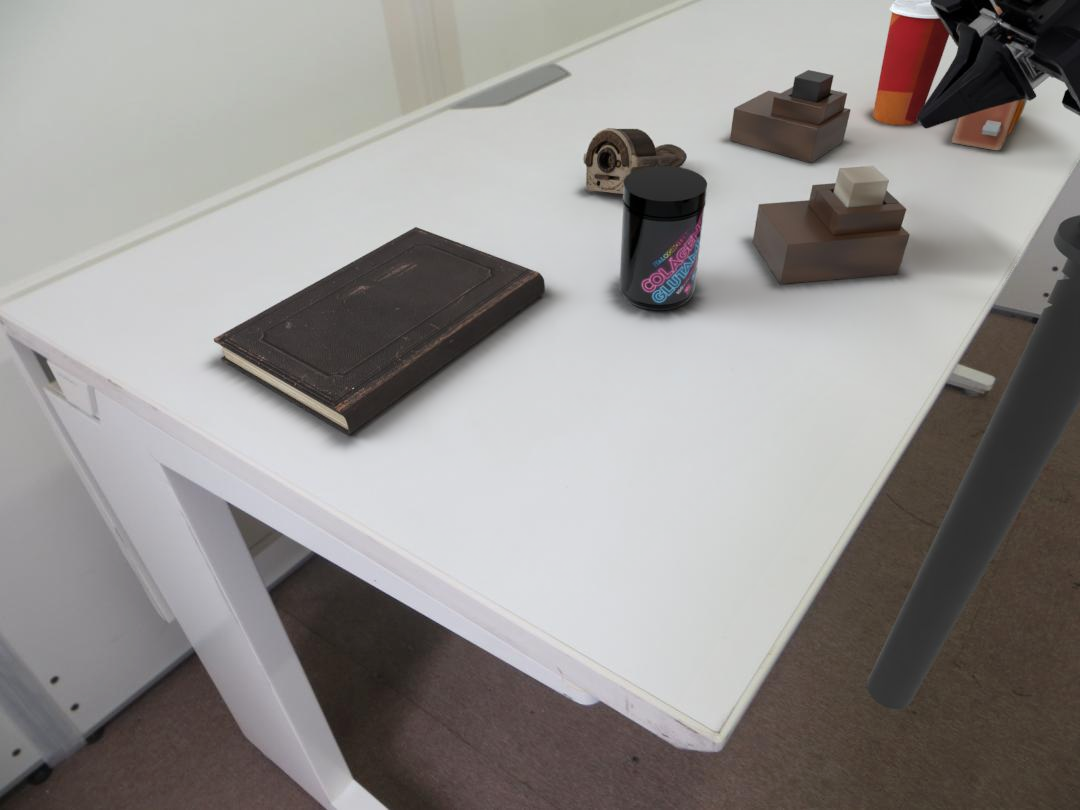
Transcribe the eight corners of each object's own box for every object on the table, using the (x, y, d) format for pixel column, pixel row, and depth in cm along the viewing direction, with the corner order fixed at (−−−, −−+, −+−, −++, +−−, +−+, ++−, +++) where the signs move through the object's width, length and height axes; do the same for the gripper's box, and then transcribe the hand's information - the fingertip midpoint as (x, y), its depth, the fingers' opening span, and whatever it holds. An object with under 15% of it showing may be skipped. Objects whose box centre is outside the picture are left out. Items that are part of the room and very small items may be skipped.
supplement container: (622, 315, 65) (627, 203, 59) (615, 275, 71) (619, 167, 64) (700, 312, 65) (715, 199, 59) (687, 272, 71) (699, 164, 64)
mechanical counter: (561, 129, 84) (599, 140, 76) (662, 99, 87) (710, 106, 78) (573, 193, 88) (611, 210, 79) (669, 162, 90) (716, 175, 82)
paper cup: (915, 106, 101) (949, -12, 91) (937, 127, 95) (974, 4, 86) (855, 107, 101) (883, -10, 92) (873, 129, 95) (904, 6, 86)
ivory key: (866, 192, 70) (873, 165, 68) (881, 207, 67) (889, 180, 65) (832, 194, 69) (838, 167, 68) (846, 210, 67) (853, 182, 65)
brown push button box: (860, 233, 75) (876, 175, 71) (898, 274, 69) (917, 213, 65) (752, 241, 74) (761, 183, 71) (780, 284, 68) (792, 223, 64)
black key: (829, 97, 88) (834, 75, 87) (815, 105, 87) (820, 82, 85) (804, 92, 90) (808, 69, 88) (790, 99, 88) (794, 76, 87)
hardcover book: (221, 361, 62) (213, 338, 61) (418, 247, 76) (415, 226, 74) (352, 438, 55) (345, 414, 53) (545, 296, 68) (544, 274, 67)
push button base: (843, 142, 92) (854, 91, 88) (811, 163, 88) (821, 111, 84) (763, 121, 98) (771, 73, 94) (729, 140, 94) (736, 90, 90)
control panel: (1023, 115, 97) (1004, 156, 88) (964, 106, 100) (940, 145, 91) (1098, -82, 83) (1085, -58, 74) (1027, -85, 86) (1005, -62, 77)
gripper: (991, -132, 61) (827, 25, 67) (1159, -100, 46) (930, 95, 53) (1045, -26, 66) (888, 109, 73) (1209, 31, 52) (997, 193, 59)
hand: (920, 123), depth 64 cm, fingers closed
